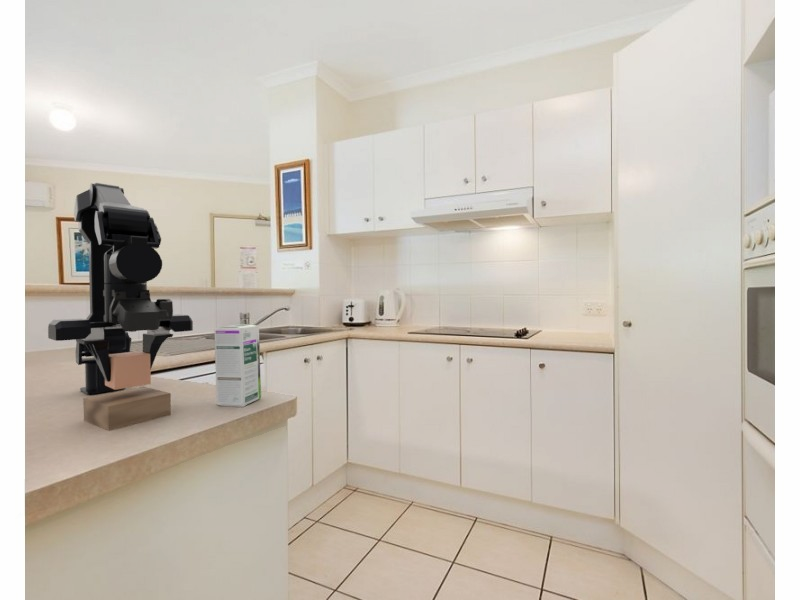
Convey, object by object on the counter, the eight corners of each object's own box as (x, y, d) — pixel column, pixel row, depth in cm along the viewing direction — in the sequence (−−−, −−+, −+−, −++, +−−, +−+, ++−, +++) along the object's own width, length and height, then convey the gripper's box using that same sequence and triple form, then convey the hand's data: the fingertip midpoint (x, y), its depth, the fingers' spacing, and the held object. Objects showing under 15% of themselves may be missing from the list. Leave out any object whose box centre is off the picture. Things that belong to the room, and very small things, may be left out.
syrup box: (244, 407, 69) (243, 326, 69) (214, 405, 71) (213, 326, 70) (261, 398, 75) (260, 324, 75) (234, 397, 76) (233, 323, 76)
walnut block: (83, 422, 63) (83, 398, 63) (144, 408, 70) (144, 386, 70) (108, 433, 58) (108, 406, 58) (170, 416, 66) (170, 393, 65)
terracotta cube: (104, 385, 64) (104, 354, 64) (139, 379, 68) (139, 351, 67) (114, 389, 61) (114, 357, 60) (150, 383, 64) (150, 353, 64)
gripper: (64, 281, 51) (66, 398, 52) (206, 283, 66) (207, 375, 66) (46, 283, 58) (48, 386, 59) (178, 285, 73) (180, 367, 73)
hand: (127, 378), depth 64 cm, fingers closed on terracotta cube, 5 cm apart
